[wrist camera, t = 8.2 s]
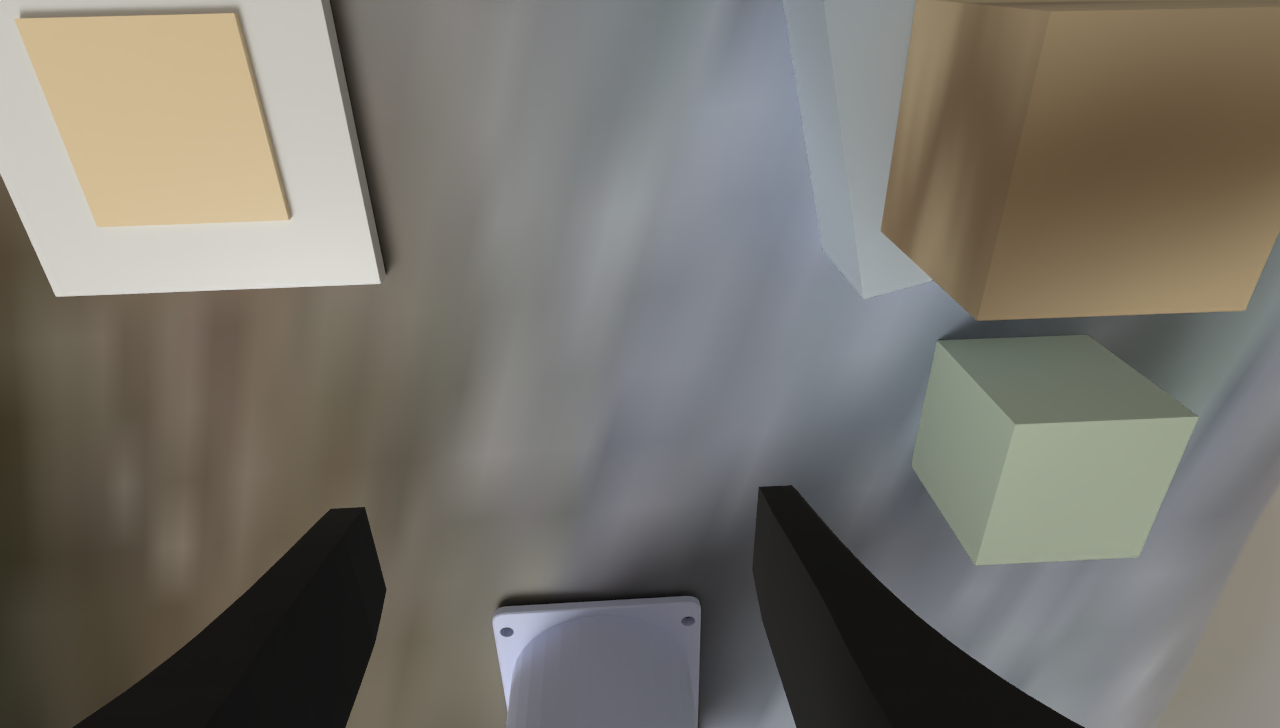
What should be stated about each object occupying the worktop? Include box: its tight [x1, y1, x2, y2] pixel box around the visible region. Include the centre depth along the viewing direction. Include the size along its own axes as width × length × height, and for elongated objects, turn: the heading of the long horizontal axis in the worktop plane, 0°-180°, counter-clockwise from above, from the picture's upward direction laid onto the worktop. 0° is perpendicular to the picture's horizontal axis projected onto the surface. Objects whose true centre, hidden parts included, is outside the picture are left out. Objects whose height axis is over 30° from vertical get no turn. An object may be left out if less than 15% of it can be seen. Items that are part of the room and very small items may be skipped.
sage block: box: [911, 335, 1199, 566], centre depth 22 cm, size 5×5×5 cm
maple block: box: [881, 0, 1280, 321], centre depth 14 cm, size 5×5×5 cm
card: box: [0, 0, 386, 297], centre depth 18 cm, size 9×9×1 cm
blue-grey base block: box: [783, 0, 934, 300], centre depth 18 cm, size 7×7×4 cm
